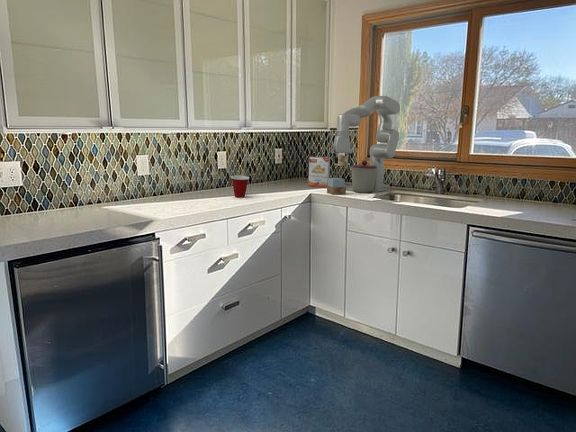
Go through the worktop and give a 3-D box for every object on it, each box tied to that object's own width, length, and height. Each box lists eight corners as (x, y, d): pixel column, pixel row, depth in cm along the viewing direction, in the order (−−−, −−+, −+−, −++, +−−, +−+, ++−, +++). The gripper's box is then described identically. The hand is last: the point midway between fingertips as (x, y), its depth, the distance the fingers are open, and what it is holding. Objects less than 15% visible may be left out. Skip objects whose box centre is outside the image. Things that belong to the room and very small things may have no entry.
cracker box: (308, 186, 313) (309, 156, 309) (310, 185, 319) (311, 156, 315) (327, 187, 309) (328, 157, 305) (329, 186, 315) (330, 157, 311)
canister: (369, 190, 304) (371, 159, 300) (381, 193, 287) (383, 161, 282) (344, 190, 299) (346, 159, 295) (355, 194, 282) (357, 161, 278)
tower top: (339, 185, 285) (339, 177, 284) (344, 187, 278) (344, 179, 277) (327, 185, 283) (328, 177, 282) (332, 187, 275) (333, 179, 274)
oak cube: (342, 164, 280) (343, 155, 279) (347, 165, 274) (348, 156, 273) (334, 164, 278) (334, 155, 276) (338, 165, 272) (339, 156, 271)
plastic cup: (235, 199, 249) (236, 178, 247) (227, 196, 258) (227, 175, 255) (252, 197, 255) (252, 177, 252) (243, 195, 264) (244, 175, 261)
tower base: (339, 192, 287) (339, 185, 286) (345, 195, 279) (346, 187, 278) (326, 193, 284) (327, 185, 283) (332, 195, 276) (333, 187, 275)
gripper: (351, 134, 279) (350, 163, 282) (327, 134, 272) (326, 163, 276) (357, 135, 272) (355, 164, 275) (332, 134, 266) (331, 164, 269)
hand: (340, 163), depth 276 cm, fingers closed on oak cube, 6 cm apart
